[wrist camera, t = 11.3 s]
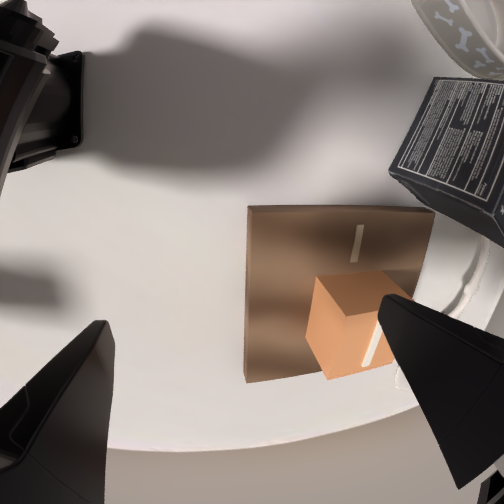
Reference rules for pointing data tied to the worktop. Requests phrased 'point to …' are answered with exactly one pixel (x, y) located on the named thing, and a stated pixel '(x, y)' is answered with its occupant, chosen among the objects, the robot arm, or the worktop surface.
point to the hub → (349, 322)
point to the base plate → (317, 271)
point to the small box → (458, 153)
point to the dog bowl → (468, 32)
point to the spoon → (469, 292)
